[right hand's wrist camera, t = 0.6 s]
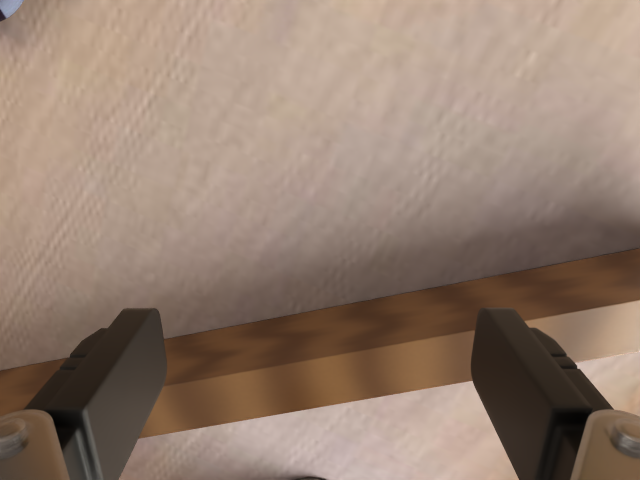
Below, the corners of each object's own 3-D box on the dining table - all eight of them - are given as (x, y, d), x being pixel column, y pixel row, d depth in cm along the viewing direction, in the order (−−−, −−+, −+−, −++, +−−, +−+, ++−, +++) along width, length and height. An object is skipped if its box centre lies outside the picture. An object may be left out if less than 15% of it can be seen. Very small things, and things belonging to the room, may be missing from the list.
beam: (-32, 417, 48) (-92, 478, 41) (-56, 381, 46) (-123, 438, 39) (678, 287, 42) (749, 333, 35) (682, 239, 40) (758, 277, 33)
